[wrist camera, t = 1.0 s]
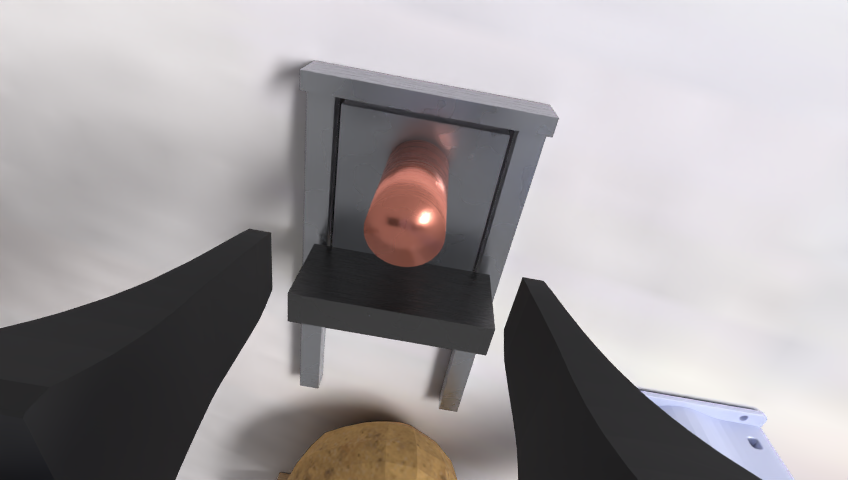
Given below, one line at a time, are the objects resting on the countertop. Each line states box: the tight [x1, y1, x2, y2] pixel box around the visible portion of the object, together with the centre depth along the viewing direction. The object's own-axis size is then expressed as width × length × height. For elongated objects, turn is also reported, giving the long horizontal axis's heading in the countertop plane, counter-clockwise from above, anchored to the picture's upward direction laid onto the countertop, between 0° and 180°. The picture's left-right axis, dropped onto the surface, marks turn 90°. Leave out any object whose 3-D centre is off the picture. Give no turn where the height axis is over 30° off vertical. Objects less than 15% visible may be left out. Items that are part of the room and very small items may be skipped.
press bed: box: [277, 60, 559, 480], centre depth 26 cm, size 14×34×6 cm, turn 171°
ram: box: [288, 99, 510, 355], centre depth 19 cm, size 9×9×7 cm
